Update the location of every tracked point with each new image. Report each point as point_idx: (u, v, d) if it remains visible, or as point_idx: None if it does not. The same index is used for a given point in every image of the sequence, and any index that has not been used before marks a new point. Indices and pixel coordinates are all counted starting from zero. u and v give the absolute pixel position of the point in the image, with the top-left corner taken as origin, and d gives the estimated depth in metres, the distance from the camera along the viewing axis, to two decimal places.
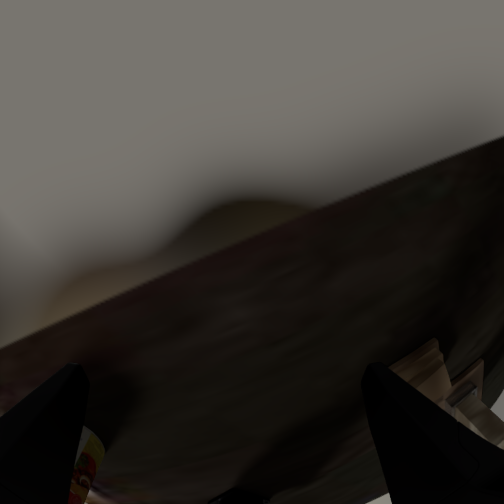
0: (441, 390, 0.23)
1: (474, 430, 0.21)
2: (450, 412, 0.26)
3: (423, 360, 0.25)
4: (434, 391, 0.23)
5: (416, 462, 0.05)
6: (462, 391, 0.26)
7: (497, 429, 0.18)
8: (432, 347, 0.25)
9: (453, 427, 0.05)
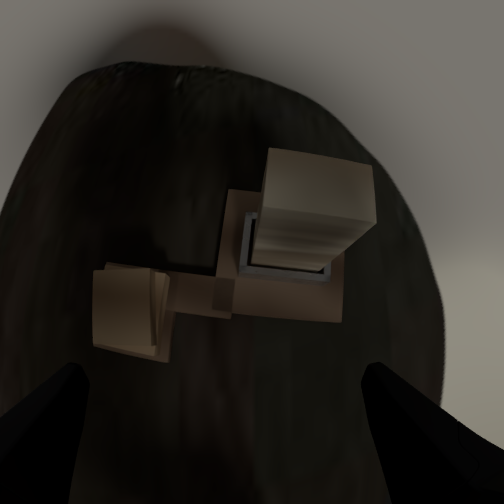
0: (138, 287, 0.18)
1: (271, 243, 0.16)
2: (258, 275, 0.21)
3: None
4: (125, 299, 0.18)
5: (416, 462, 0.05)
6: None
7: None
8: None
9: (453, 427, 0.05)
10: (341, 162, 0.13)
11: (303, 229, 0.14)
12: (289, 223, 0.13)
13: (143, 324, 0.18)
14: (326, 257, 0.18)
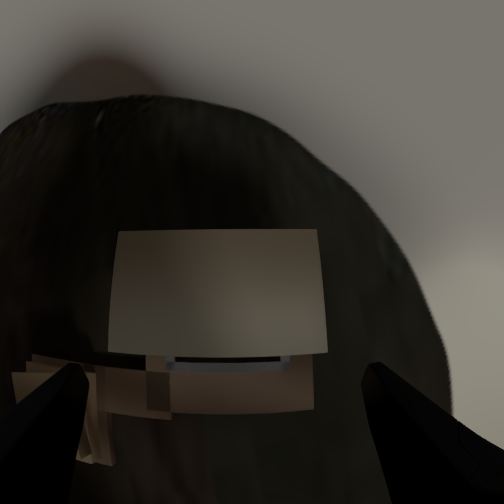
0: None
1: None
2: (192, 371, 0.14)
3: None
4: None
5: (416, 462, 0.05)
6: None
7: None
8: None
9: (453, 427, 0.05)
10: (252, 237, 0.07)
11: None
12: None
13: None
14: None
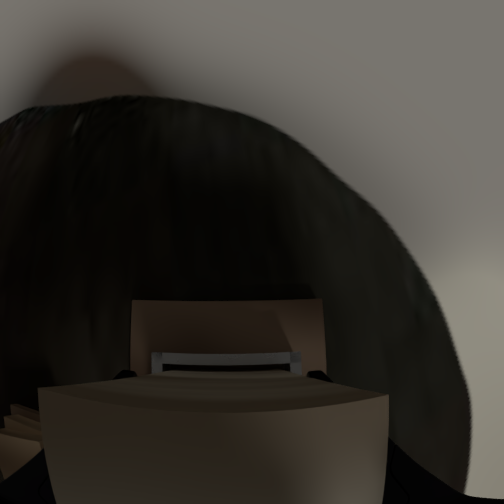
0: None
1: None
2: None
3: None
4: None
5: None
6: None
7: None
8: None
9: (387, 451, 0.04)
10: (274, 426, 0.03)
11: None
12: None
13: None
14: None
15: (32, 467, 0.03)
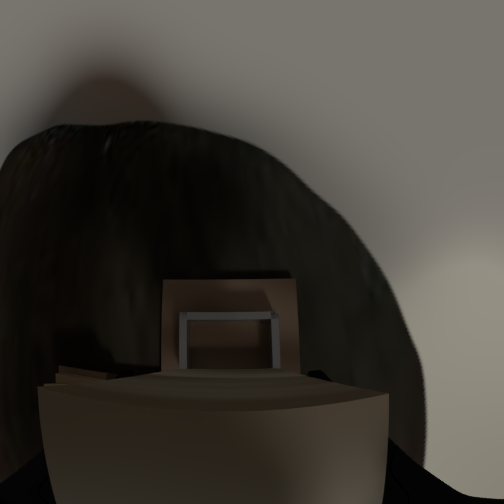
0: None
1: None
2: None
3: None
4: None
5: None
6: None
7: None
8: None
9: (387, 451, 0.04)
10: (273, 425, 0.03)
11: None
12: None
13: None
14: None
15: (32, 467, 0.03)
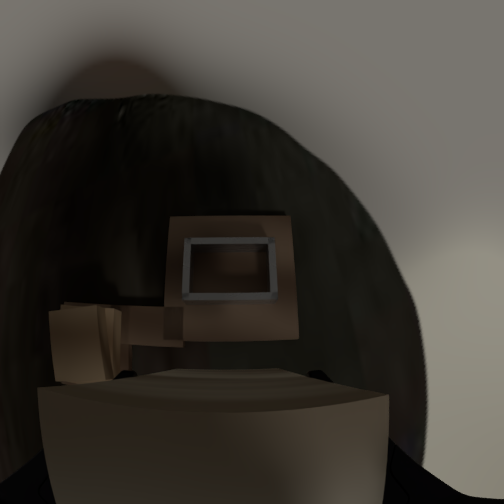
0: (88, 324, 0.17)
1: None
2: (202, 301, 0.20)
3: None
4: (78, 337, 0.17)
5: None
6: None
7: None
8: None
9: None
10: (273, 426, 0.03)
11: None
12: None
13: (96, 360, 0.16)
14: None
15: (32, 467, 0.03)
